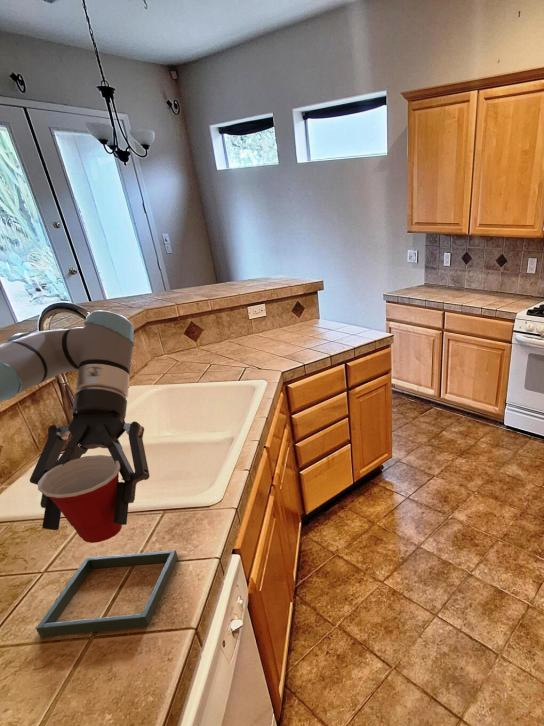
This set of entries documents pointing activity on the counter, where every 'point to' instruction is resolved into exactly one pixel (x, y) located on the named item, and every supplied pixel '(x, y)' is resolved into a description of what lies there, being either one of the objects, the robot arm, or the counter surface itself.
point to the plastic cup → (85, 495)
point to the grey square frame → (52, 628)
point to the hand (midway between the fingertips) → (85, 526)
